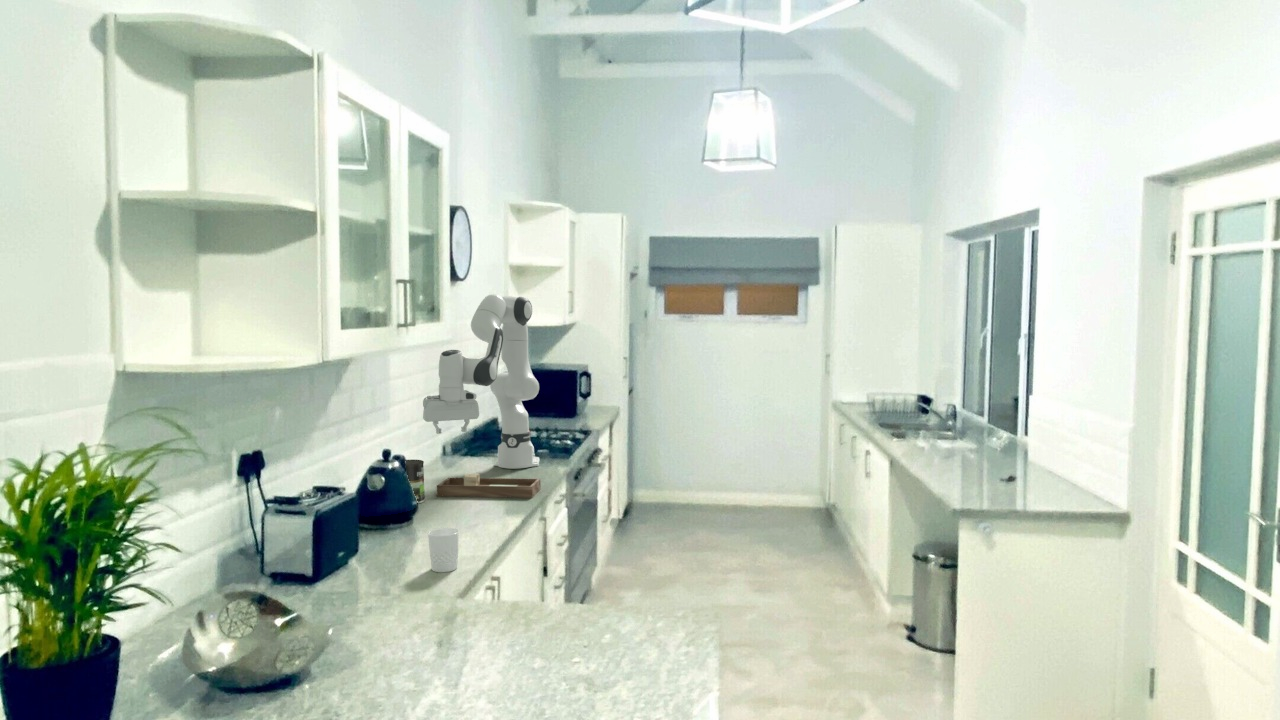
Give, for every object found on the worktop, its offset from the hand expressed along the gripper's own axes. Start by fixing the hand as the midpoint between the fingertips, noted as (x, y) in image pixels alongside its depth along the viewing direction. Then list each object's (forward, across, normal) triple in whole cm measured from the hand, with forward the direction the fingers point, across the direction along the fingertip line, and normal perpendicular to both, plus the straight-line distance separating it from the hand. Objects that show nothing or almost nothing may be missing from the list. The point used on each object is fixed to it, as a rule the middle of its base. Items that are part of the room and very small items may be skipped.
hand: (451, 432), depth 321 cm
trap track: (+22, +11, -9) cm, 26 cm away
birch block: (+20, +6, -5) cm, 21 cm away
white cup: (+24, -30, -85) cm, 93 cm away
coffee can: (+23, -17, -6) cm, 29 cm away
